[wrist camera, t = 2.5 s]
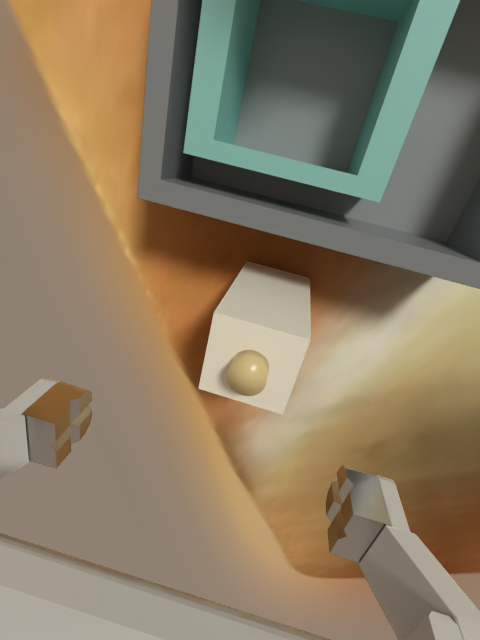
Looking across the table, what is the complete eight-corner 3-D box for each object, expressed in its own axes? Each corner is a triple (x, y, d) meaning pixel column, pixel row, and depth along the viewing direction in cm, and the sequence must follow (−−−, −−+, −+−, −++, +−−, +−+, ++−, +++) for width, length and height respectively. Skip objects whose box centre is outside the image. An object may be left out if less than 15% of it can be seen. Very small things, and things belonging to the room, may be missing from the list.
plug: (310, 278, 20) (310, 352, 12) (291, 333, 22) (280, 430, 14) (247, 260, 20) (206, 322, 12) (233, 317, 22) (191, 402, 14)
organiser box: (606, -31, 13) (766, -137, 8) (450, 261, 18) (496, 293, 14) (213, -107, 14) (168, -236, 9) (176, 190, 19) (137, 197, 15)
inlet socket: (435, 4, 13) (481, -54, 10) (364, 194, 17) (379, 202, 13) (239, -36, 14) (215, -105, 10) (208, 155, 17) (183, 152, 14)
